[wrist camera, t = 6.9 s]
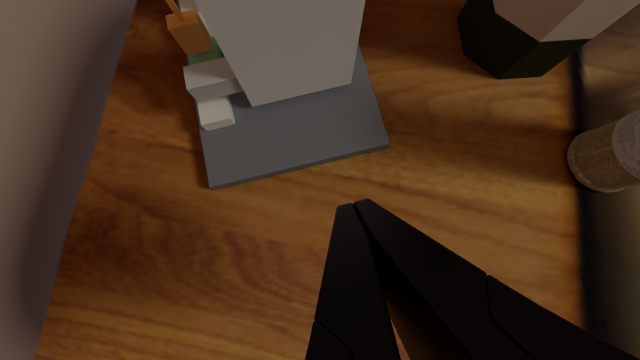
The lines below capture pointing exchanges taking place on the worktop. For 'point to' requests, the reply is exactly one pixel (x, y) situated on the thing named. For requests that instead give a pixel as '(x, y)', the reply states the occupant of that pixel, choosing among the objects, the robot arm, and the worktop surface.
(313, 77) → the white tall block
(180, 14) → the orange block with rod
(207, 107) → the base
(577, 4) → the wine bottle
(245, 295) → the worktop surface
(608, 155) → the sprinkles bottle
